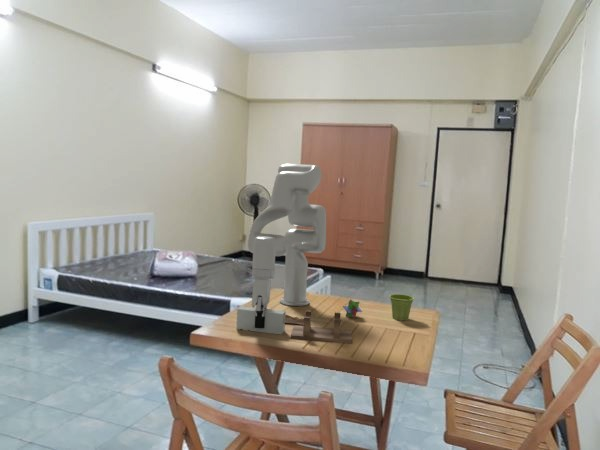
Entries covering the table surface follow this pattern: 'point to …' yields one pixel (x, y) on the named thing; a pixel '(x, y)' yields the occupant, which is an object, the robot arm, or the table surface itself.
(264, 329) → the clay bar
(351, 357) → the table surface
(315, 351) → the table surface
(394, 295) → the plant pot
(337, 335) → the wooden display stand
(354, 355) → the table surface
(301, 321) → the wooden fragment
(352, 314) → the geometric puzzle
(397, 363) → the table surface
